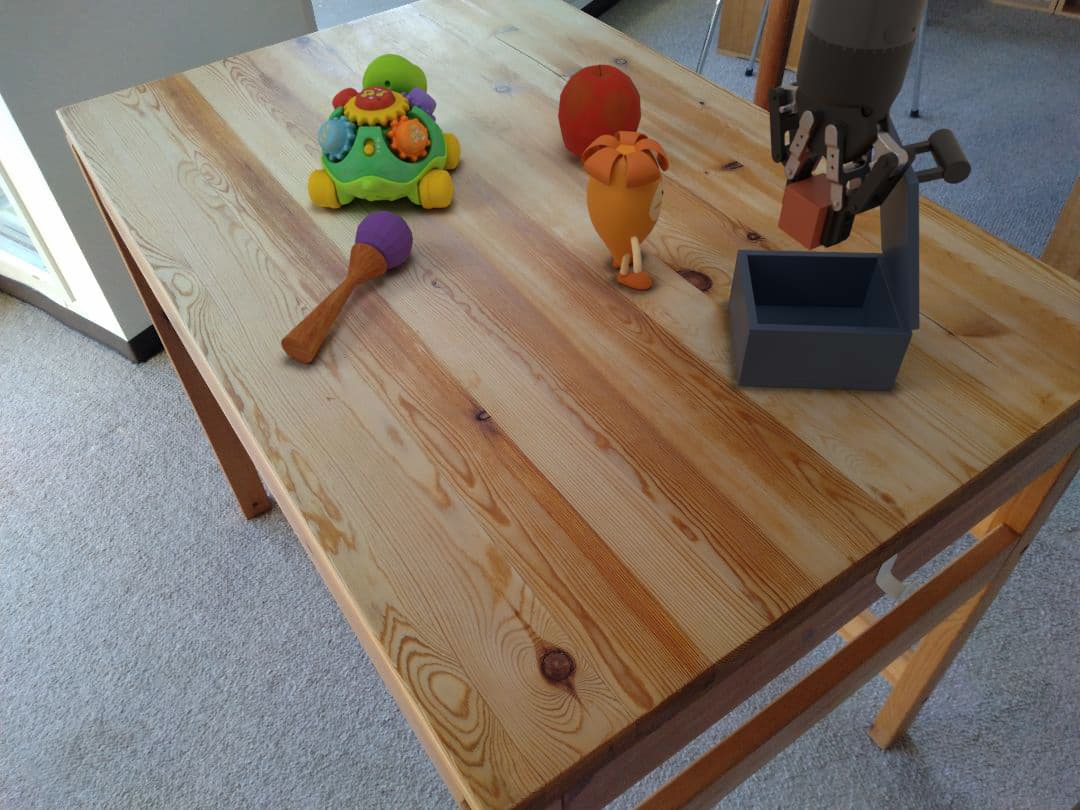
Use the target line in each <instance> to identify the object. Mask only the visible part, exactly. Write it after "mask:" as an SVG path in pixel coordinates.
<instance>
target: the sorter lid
mask: <svg viewBox="0 0 1080 810" xmlns="http://www.w3.org/2000/svg"><path fill="white" fill-rule="evenodd" d="M889 120H890V131H889V135H890V136H891V138H892V139H893V140H894V141H895V142H896V143H897V144H898V146H899V147H900V148H903V147H906V146H911V147H913V148H914V150H915V152H916V156H917V155H921V154H924V153H929V152H930V154H931V156H932V158H933V160H934V162H935V165H936V166H935V167H930V168H927V169H922V170H917V171H915V170H914V167H913V164H911V165H910V167H909V168H908V170H907V171H906V172H905V174H904V175H903V176H902V178H901V179H900V180H899V182H898V183H897V185H896V186H895V187H894V189H893V190H892V191H891V193H890V194H889V196H888V197H887V198H886V200H885V201H884V202H883V204H882V205H881V206H879V220H880V244H881V245H880V246H881V249H880V250H881V253H883V255H884V258H885V261H886V264H887V267H888V270H889V272H890V275H891V278H892V281H893V284H894V287H895V290H896V293H897V295H898V298H899V301H900V304H901V307H902V310H903V313H904V316H905V318H906V321H907V324H908V327H909V330H911V331H915V330H920V329H921V328H920V323H921V322H920V184H923V183H927V182H932V181H937V180H942V179H943V180H944V182H945V183H947V184H950V185H955V184H960V183H962V182H964V181H965V180H967V179H968V177H969V176H970V175H971V171H972V165H971V164H970V162H969V160H968V157H967V156H966V154H965V152H964V151H963V148H962V147H961V145H960V143H959V141H958V140H957V137H956V136H955V134H954V132H953V130H951V129H949V128H939V129H937V130H934V131H933V132H932V133H931V134H930V135H929V137H928V139H926V140H923V141H918V142H914V143H909V144H905V145H903V142H902V140H901V137H900V136H899V134H898V131H897V129H896V126H895V125H894V124H895V123H894V122H893V120H892V117H891V115H890V114H889Z"/></svg>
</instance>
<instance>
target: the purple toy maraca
mask: <svg viewBox="0 0 1080 810" xmlns="http://www.w3.org/2000/svg"><path fill="white" fill-rule="evenodd" d="M413 244H414V237H413V232H412V230H411V228H410V226H409V224H408V223H407V222H406V220H405V219H403V217H401V216H400V215H398V214H396V213H394V212H390V211H386V210H382V211H375V212H373V213H370V214H367V216H366V217H364V218H363V219H362V220H361V222H360V223H359V224H358V225H357V229H356V233H355V240H354V244H353V245H352V246H351V248H350V249H351V250H350V255H349V260H348V261H349V264H348V269H347V277H346V278H345V279H344V280H343V281H342V282H341V283H340V284H339V285H338V286H337V287H336V288H335V289H334V290H333V291H332V292H331V293H330V294H328V295H327V296H326V297H325V298H324V299H323V300H322V301H321V302H320V303H319V304H318V305H317V306H315V308H313V310H312V311H311V312H309V313H308V314H307V315H306V316H305V317H304V318H303V319H302V320H300V322H299V323H298V324H297V325H295V327H293V329H291V330H290V332H288V333H287V334H286V335H285V336H284V337H283V338H282V339H281V340H280V346H281V348H282V350H283V351H284V352H285V353H286V355H288V356H289V357H290V358H291V359H292V360H295V361H296V362H298V363H302V364H309V363H311V362H312V361H313V360H314V358H315V356H316V354H317V352H318V351H319V349H320V347H321V346H322V344H323V342H324V341H325V339H326V337H327V335H328V334H329V332H330V330H331V329H332V327H333V325H334V324H335V322H336V320H337V318H338V316H339V315H340V313H341V311H342V310H343V308H344V306H345V305H346V303H347V302H348V300H349V298H350V296H351V294H352V293H353V291H354V289H355V287H356V286H357V285H359V284H363V283H364V282H367V281H371V280H372V279H375V278H377V277H381V276H383V275H384V274H385V273H387V270H391V269H394V268H397V267H398V266H401V264H403V263H404V262H406V260H407V259H408V258H409V256H410V255H411V253H412V248H413Z"/></svg>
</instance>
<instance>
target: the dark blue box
mask: <svg viewBox="0 0 1080 810" xmlns="http://www.w3.org/2000/svg"><path fill="white" fill-rule="evenodd" d="M735 258H736V259H735V263H734V264H735V265H734V271H733V276H732V282H731V287H730V293H729V299H728V305H727V306H728V313H729V321H730V330H731V337H732V338H731V339H732V347H733V352H734V361H735V368H736V377H737V385H738V386H739V387H763V388H764V387H767V388H795V389H823V390H825V389H826V390H853V391H854V390H857V391H880V392H881V391H885V392H892V389H893V386H894V384H895V382H896V379H897V376H898V374H899V371H900V368H901V366H902V364H903V361H904V358H905V356H906V353H907V350H908V348H909V345H910V343H911V340H912V338H913V335H914V333H913V330H909V327H908V324H907V321H906V318H905V316H904V313H903V310H902V307H901V304H900V301H899V298H898V295H897V293H896V290H895V287H894V284H893V281H892V278H891V275H890V272H889V270H888V267H887V264H886V261H885V258H884V255H883V252H857V251H853V252H852V251H851V252H850V251H815V250H814V251H811V250H806V251H805V250H771V249H770V250H769V249H768V250H766V249H764V250H763V249H737V253H736V257H735Z"/></svg>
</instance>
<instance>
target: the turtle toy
mask: <svg viewBox="0 0 1080 810" xmlns="http://www.w3.org/2000/svg"><path fill="white" fill-rule="evenodd" d="M361 86H362V89H361V91H359V92H358V91H357V89H355V88H353V87H345V88H344V89H342V90H340V91H339V92H338V93H336V94H335V95H334V97H333V98H332V101H331V104H332V107H333V109H334V110H333V111H332V112H331V114H329V117H328V120H326V121H324V122H323V123H322V124H321V125H320V127H319V129H318V133H317V140H318V144H319V146H320V147H321V156H320V162H321V165H322V168H319V169H314V170H313V171H312V172H311V173H310V174H309V177H308V180H307V181H308V182H307V191H308V196H309V199H310V201H311V202H312V204H314V205H315V206H316V207H318V208H319V207H321V208H331V209H340V208H341V207H342V206H344V205H348V204H350V203H351V202H352V201H353V200H354V199H355V198H358V199H362V200H366V201H368V202H374V201H387V200H388V201H389V202H391V201H396V200H399V199H400V198H404V197H407V198H408V200H410V201H411V202H412V203H413V204H415V205H418V206H422V208H424V209H427V210H431V209H433V208H436V209H437V208H438V209H440V208H447V207H448V206H449V205H451V203H452V199H453V198H454V197H453V196H454V191H455V186H454V183H453V179H452V176H451V175H450V173H449V172H448V171H447V170H453V169H455V168H457V166H458V165H459V161H460V158H461V152H462V151H461V150H462V149H461V146H460V142H459V139H458V137H457V136H456V135H455V134H453V133H449V132H443V129H441V127H440V125H439V124H438V123H437V122H436V121H437V118H436V115H434V112H435V110H436V108H437V102H436V100H435V99H434V98H433V97H432V96H431V95H430V93H427V92H428V80H427V76H426V73H425V72H424V71H423V69H422V68H421V67H420V66H418V65H416V64H414V63H412V62H411V61H410V60H409V59H407V58H405V57H404V56H403V55H399V54H395V53H385V54H381V55H380V56H377V57H376V58H374V59H373V60H372V61H371V62H370V63H369V64H368V66H367V67H366V69H365V71H364V73H363V76H362V83H361Z"/></svg>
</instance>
